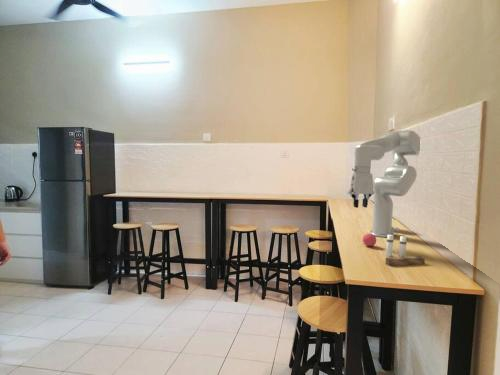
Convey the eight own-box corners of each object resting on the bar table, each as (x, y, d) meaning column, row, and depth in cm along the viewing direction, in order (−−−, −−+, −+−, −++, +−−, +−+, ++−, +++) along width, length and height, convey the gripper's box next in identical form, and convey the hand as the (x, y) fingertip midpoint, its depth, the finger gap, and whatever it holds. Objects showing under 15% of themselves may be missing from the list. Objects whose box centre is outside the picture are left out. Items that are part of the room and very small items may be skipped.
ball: (371, 244, 152) (372, 232, 152) (378, 247, 146) (379, 235, 146) (360, 244, 151) (360, 232, 150) (367, 248, 145) (367, 235, 145)
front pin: (389, 254, 136) (391, 234, 135) (393, 256, 133) (395, 235, 132) (384, 255, 135) (385, 234, 134) (388, 257, 133) (389, 236, 132)
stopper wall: (420, 262, 127) (421, 256, 127) (424, 263, 125) (424, 257, 125) (385, 263, 124) (385, 257, 123) (388, 265, 122) (389, 259, 121)
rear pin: (402, 257, 133) (403, 236, 132) (406, 259, 130) (408, 237, 129) (397, 257, 132) (398, 236, 131) (401, 259, 130) (402, 238, 129)
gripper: (350, 170, 149) (348, 208, 151) (382, 171, 153) (379, 208, 154) (342, 169, 157) (341, 206, 158) (373, 170, 160) (371, 205, 162)
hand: (360, 206), depth 156 cm, fingers open, 4 cm apart
